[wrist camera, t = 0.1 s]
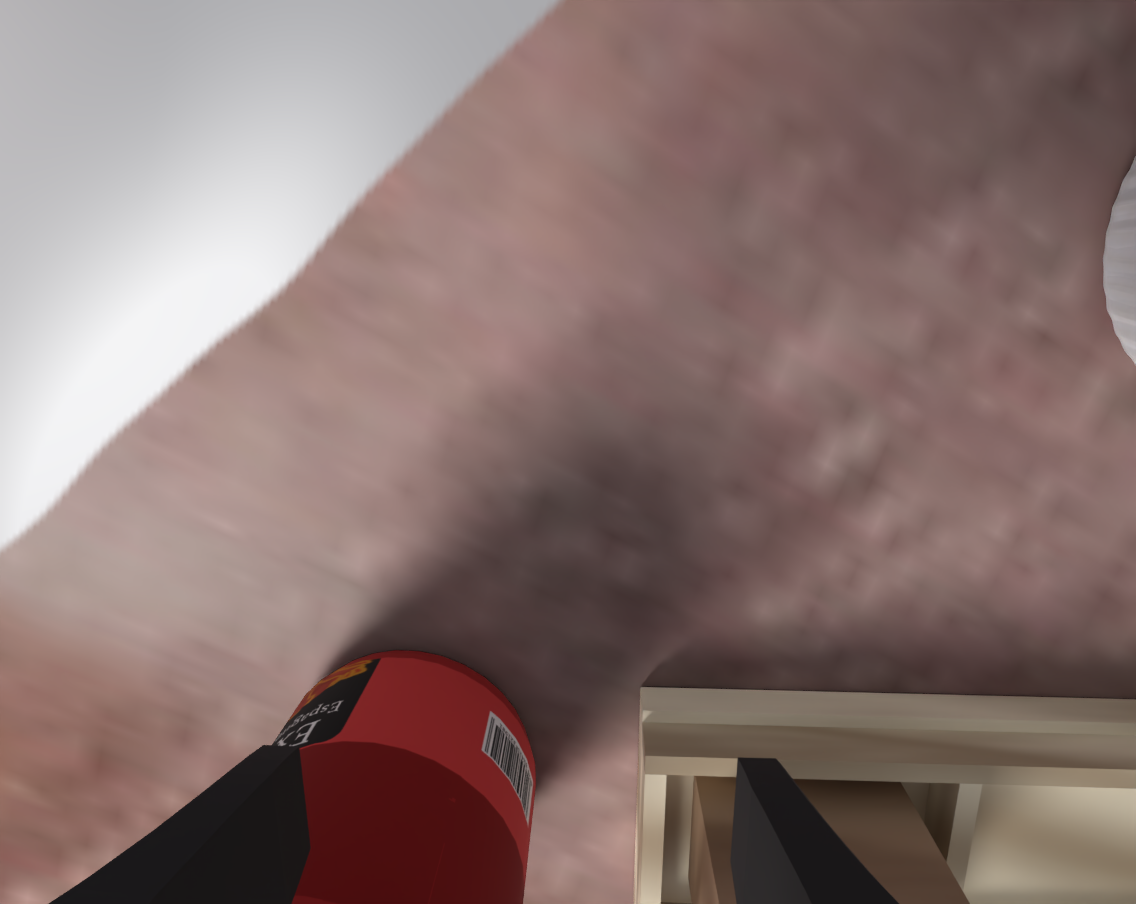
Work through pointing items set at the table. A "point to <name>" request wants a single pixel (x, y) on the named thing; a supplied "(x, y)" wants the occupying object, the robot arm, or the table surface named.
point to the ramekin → (1122, 264)
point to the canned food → (412, 785)
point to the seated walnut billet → (857, 815)
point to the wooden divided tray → (915, 780)
